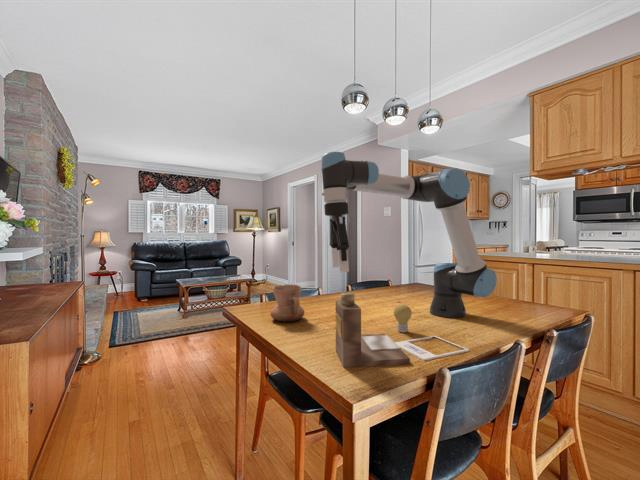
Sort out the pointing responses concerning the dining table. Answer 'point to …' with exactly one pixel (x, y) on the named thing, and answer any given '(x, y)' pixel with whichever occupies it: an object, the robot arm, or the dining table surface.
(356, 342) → the brown l-shaped block
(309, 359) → the dining table surface
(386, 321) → the dining table surface
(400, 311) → the light bulb
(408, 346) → the photo frame
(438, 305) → the robot arm
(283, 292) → the ceramic jug
